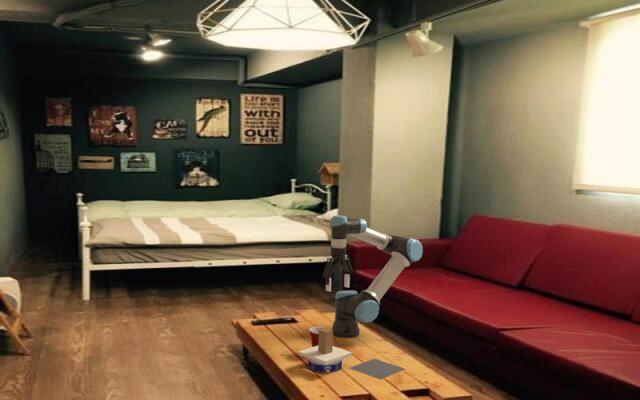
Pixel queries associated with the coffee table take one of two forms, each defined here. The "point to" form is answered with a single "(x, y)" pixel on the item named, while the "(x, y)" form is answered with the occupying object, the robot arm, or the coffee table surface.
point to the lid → (325, 349)
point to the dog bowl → (324, 366)
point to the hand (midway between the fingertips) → (337, 289)
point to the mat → (377, 368)
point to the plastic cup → (315, 335)
